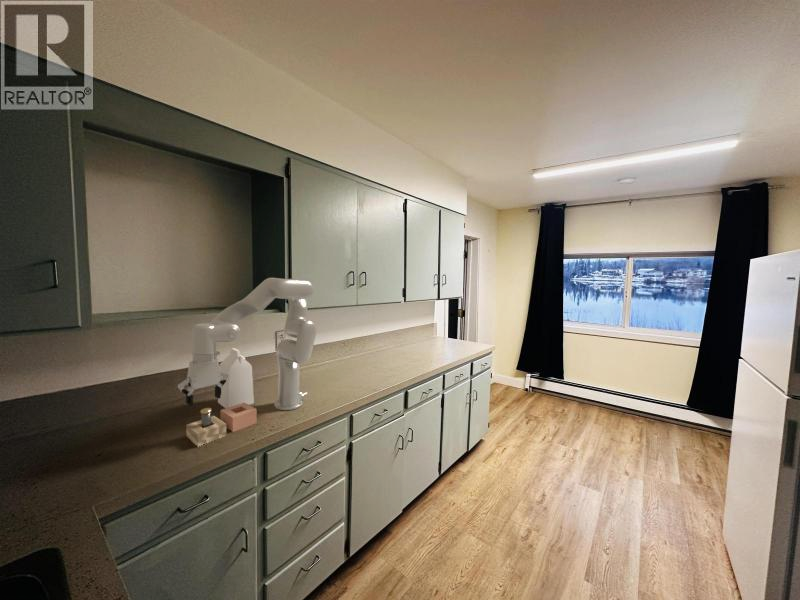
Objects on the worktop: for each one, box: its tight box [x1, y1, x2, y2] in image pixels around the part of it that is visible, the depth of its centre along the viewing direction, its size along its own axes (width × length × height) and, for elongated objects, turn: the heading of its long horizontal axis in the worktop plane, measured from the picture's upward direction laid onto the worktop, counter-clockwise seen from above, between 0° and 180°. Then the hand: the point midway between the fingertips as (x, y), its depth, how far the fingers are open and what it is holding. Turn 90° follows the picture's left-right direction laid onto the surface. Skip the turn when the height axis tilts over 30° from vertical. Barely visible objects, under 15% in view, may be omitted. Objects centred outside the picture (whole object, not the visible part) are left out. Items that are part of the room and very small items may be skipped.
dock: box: [220, 403, 258, 433], centre depth 135 cm, size 10×10×6 cm
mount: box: [185, 415, 227, 448], centre depth 124 cm, size 10×10×5 cm
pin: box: [200, 407, 212, 428], centre depth 124 cm, size 4×4×11 cm
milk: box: [217, 347, 255, 409], centre depth 153 cm, size 12×12×26 cm
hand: (204, 401), depth 123 cm, fingers open, 9 cm apart
